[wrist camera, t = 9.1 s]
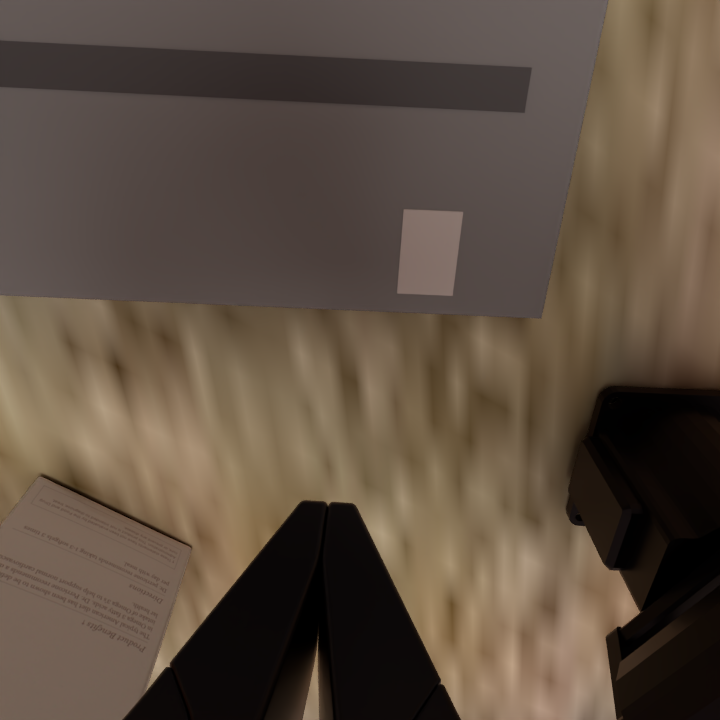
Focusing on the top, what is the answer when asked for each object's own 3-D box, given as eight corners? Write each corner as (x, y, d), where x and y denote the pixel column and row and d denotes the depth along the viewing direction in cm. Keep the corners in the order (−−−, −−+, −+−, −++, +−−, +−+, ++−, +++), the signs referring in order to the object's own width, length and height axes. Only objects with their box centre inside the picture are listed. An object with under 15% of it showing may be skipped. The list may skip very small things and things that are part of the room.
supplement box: (-21, 572, 26) (-312, 959, 15) (41, 468, 23) (-259, 848, 12) (126, 636, 28) (-31, 1019, 17) (200, 548, 25) (71, 935, 14)
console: (602, -186, 14) (660, -246, 11) (516, 283, 19) (541, 318, 17) (-236, -235, 13) (-387, -310, 11) (-78, 257, 19) (-150, 288, 16)
